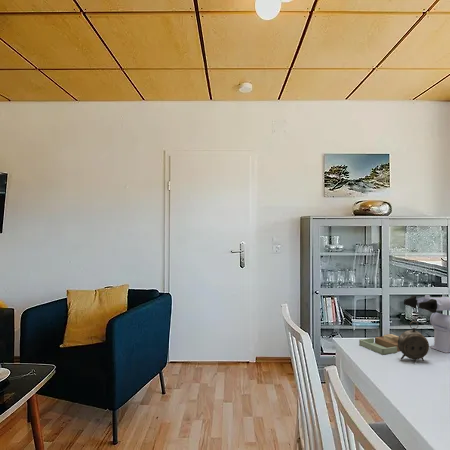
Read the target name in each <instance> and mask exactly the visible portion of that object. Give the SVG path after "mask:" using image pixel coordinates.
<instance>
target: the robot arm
mask: <svg viewBox="0 0 450 450" xmlns="http://www.w3.org/2000/svg"><path fill="white" fill-rule="evenodd" d="M403 305H404V306H408V307H410V308H411V309H417V307H418V308H419V309H421V310H423V311H425V312H430V313H431V314H430V316H429V317H430V318H429V322H430V324H431V325H432V328H433V329H434V331H433V332H434V333H433V335H434V338H433V339H434V341H433V342H434V343H433V345H431V346H430V345H429V349H434V350H437V351H439V352H441V353H445V354H447V353H450V315H449V314H444V313H441V312H442V311H450V297H447V296H444V295H443V296H440V297H439V296H437V297H434V296H433V297H432V296H431V295H430V294H424V296H422V297H418V298H417V295H413V294H412V295H411V296H410V297H409V298H406V299H403ZM439 311H441V312H440V313H439Z"/></svg>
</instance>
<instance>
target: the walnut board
mask: <svg viewBox="0 0 450 450" xmlns="http://www.w3.org/2000/svg"><path fill="white" fill-rule="evenodd" d="M374 343H376V344H378V345H381V346H383V347H386V348H390V347H397V353H399V352H401V351H400V350H399V348H398V341H396V342H389V341H387V340H384V335H383V336H382V335H381V336H375V337H374Z"/></svg>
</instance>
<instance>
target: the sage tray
mask: <svg viewBox="0 0 450 450" xmlns="http://www.w3.org/2000/svg"><path fill="white" fill-rule="evenodd" d="M358 344H359V346H360V347H363V348H365V349H367V350H369V351H373V352H375V353H377V354H379V355H381V356H385V355H391V354H397V353H398V352H397V347H390V348H386V347H383V346H381V345H378V344H376V343H375V337H370V338H363V339H359V343H358Z"/></svg>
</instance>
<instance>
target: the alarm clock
mask: <svg viewBox="0 0 450 450" xmlns="http://www.w3.org/2000/svg"><path fill="white" fill-rule="evenodd" d="M412 323H416V325H417V327H416V328H415V327H413V328H412ZM409 327H410V328H411V329H409V330H405V331H403V332H402V333H401V334H400V335H399V339H398V348H399V350H400V351H399V352H401V353H402V356H401V357H400V360H403V358H404V357H406V358H407V359H411V360H413V362H414V364H415V363H416V364H417V360H422V362H424V361H425V359H424V357H425V356H426V355H427V354H428V353H429V349H430V344H429V341H428V339H427V337H425V335H423V334H422V333H421V332H419V331H418V330H417V329H418V328H419V323H418V322H417V321H415V320H413V321H412V320H411V322H409Z"/></svg>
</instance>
